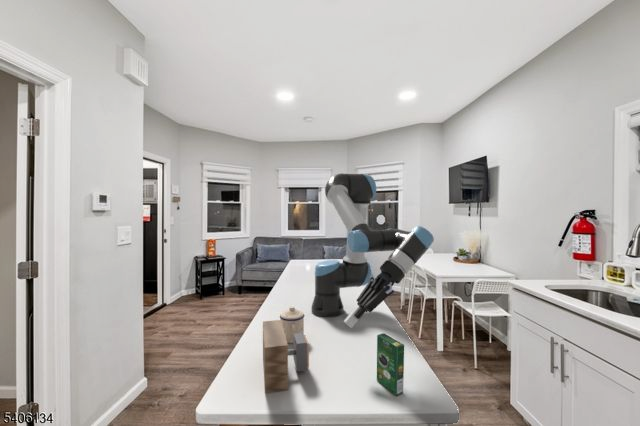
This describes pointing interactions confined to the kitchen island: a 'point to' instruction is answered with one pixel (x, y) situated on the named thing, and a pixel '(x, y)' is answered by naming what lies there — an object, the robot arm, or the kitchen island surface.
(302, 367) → the gray housing block
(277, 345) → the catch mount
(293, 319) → the teacup with lid
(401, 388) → the coffee box
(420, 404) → the kitchen island surface
